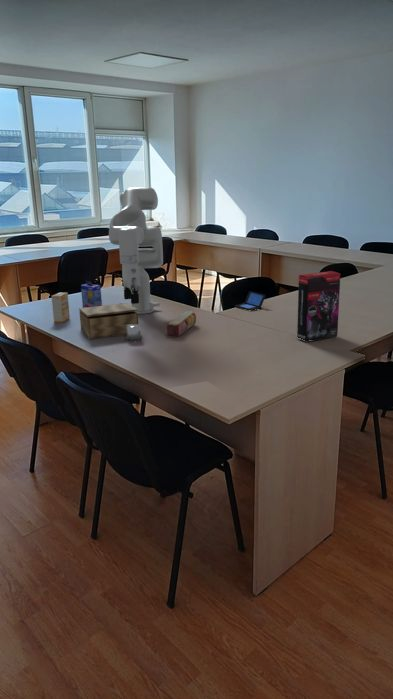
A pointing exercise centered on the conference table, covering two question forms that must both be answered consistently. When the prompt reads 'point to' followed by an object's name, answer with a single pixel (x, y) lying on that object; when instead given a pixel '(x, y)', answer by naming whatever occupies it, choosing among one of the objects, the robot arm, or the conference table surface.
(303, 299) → the graphics card box
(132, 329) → the steel weight
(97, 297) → the ink cartridge box
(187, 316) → the snack package
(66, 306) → the supplement box
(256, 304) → the handheld game console
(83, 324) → the tan wicker box
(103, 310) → the lid
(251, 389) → the conference table surface
